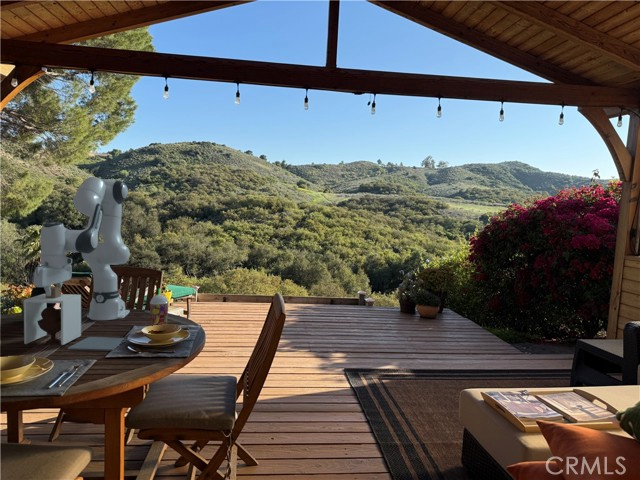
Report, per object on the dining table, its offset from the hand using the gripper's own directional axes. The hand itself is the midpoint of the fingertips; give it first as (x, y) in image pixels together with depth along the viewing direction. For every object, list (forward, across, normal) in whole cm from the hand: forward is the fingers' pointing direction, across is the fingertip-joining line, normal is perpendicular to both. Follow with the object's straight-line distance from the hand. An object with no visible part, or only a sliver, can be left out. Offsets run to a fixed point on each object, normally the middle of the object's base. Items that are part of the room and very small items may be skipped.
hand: (53, 294), depth 176 cm
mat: (+20, -1, -20) cm, 28 cm away
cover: (+19, 0, 0) cm, 19 cm away
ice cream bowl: (+20, 0, 0) cm, 20 cm away
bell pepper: (+21, +32, +30) cm, 48 cm away
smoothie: (+21, +22, -36) cm, 47 cm away
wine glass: (+20, +16, +14) cm, 29 cm away
